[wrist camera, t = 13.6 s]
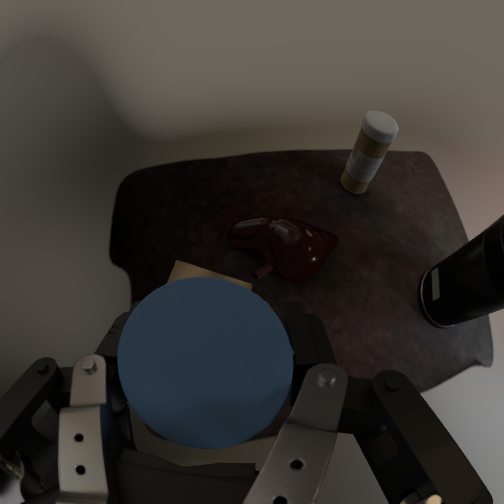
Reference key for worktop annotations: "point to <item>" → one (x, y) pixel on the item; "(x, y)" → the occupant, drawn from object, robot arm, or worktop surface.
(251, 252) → the worktop surface
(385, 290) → the worktop surface
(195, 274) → the dowel stand
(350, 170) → the sprinkles bottle
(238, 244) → the dark red glossy lump
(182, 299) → the blue sleeve
